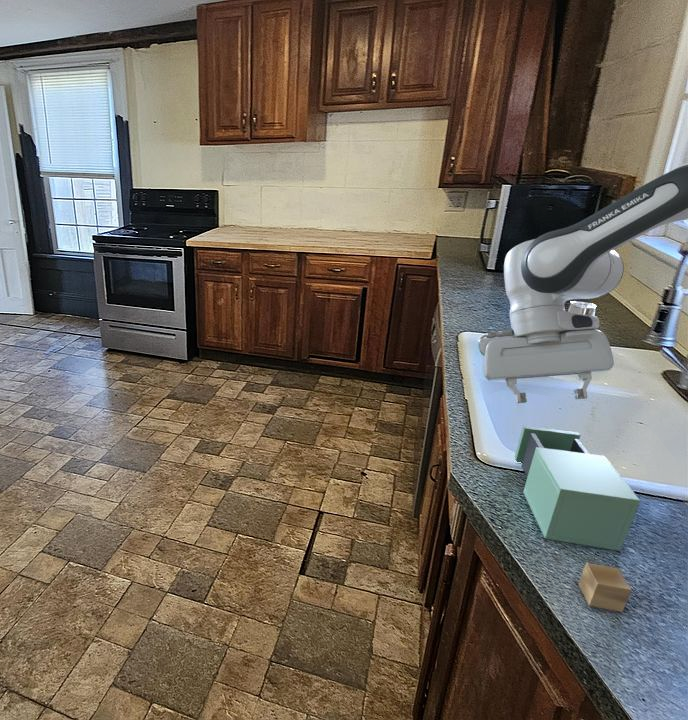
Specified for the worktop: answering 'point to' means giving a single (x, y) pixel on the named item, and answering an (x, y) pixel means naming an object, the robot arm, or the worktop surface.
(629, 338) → the worktop surface
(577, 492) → the mint green box
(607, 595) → the cube
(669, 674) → the worktop surface
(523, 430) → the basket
